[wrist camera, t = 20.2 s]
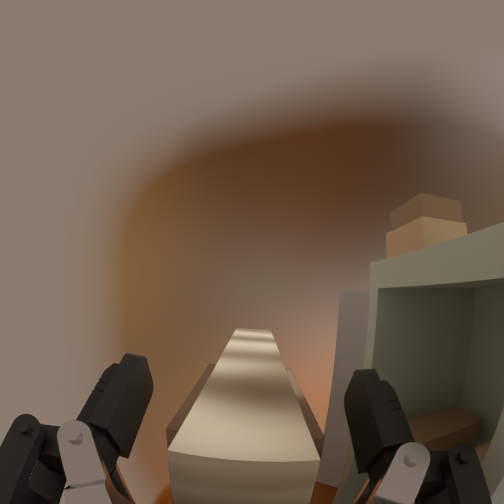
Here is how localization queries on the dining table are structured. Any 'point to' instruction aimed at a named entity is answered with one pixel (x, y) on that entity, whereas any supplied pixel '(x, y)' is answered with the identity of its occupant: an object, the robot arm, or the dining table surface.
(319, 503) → the dining table surface
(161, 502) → the dining table surface
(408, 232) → the rack
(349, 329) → the folded grey card
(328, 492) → the dining table surface
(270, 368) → the birch strip
